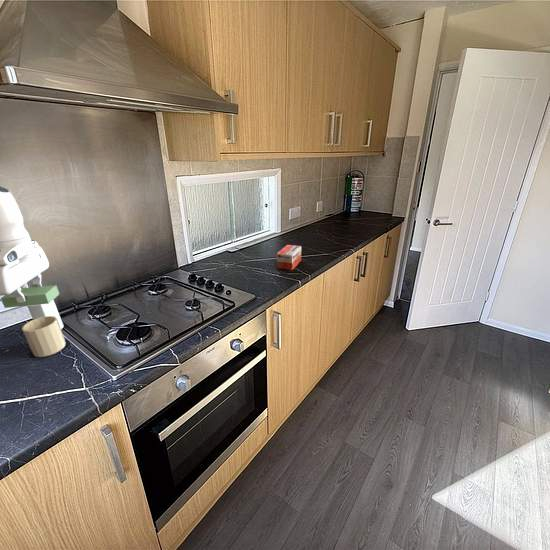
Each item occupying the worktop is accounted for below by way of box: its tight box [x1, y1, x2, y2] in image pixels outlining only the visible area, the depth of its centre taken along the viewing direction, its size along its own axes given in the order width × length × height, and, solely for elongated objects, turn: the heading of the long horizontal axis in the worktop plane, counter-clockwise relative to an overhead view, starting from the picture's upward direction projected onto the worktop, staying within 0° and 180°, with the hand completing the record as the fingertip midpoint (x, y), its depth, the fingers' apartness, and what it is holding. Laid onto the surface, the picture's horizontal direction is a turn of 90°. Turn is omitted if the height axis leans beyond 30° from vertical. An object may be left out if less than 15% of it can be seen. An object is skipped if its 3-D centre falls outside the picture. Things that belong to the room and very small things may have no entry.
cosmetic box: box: [26, 299, 65, 330], centre depth 95 cm, size 6×4×12 cm
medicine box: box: [276, 244, 302, 271], centre depth 147 cm, size 15×8×8 cm, turn 158°
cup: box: [21, 316, 67, 358], centre depth 88 cm, size 8×8×9 cm
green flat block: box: [0, 284, 60, 309], centre depth 83 cm, size 11×6×3 cm, turn 100°
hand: (30, 295), depth 83 cm, fingers closed on green flat block, 6 cm apart
